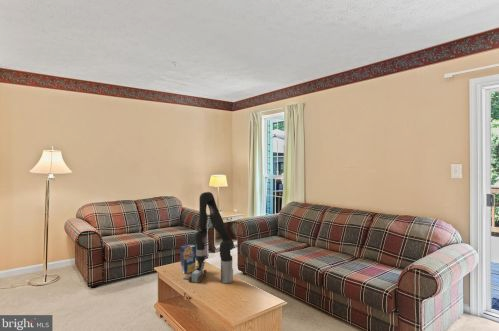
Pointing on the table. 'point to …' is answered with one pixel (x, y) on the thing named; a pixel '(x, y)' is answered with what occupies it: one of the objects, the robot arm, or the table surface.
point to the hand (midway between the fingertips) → (200, 275)
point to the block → (196, 275)
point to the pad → (187, 277)
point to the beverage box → (188, 258)
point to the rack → (199, 277)
